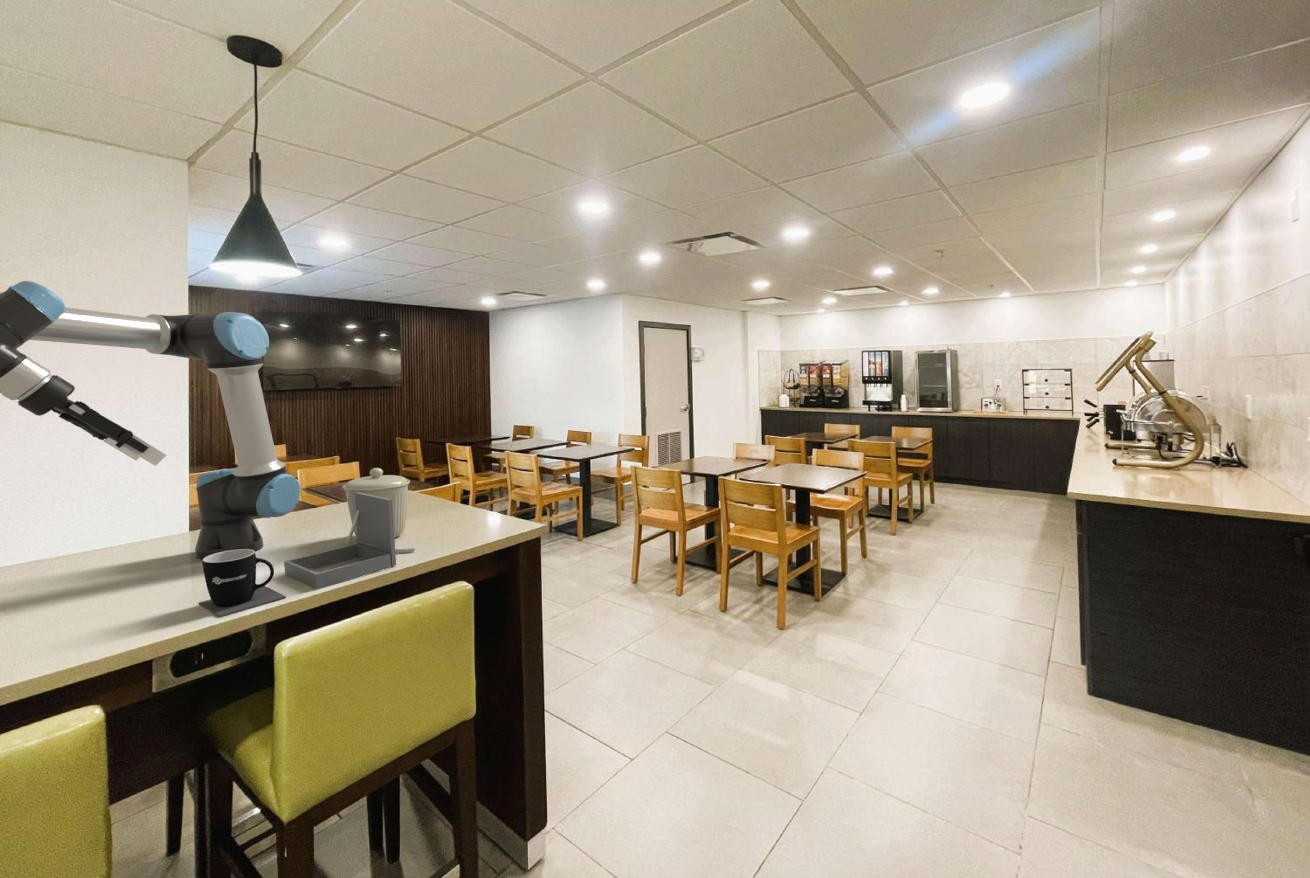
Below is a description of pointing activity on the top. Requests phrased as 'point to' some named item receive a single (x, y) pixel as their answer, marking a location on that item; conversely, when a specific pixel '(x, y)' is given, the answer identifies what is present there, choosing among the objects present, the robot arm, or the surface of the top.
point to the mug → (233, 576)
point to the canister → (381, 495)
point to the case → (353, 547)
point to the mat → (258, 599)
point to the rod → (404, 550)
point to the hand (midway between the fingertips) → (150, 457)
